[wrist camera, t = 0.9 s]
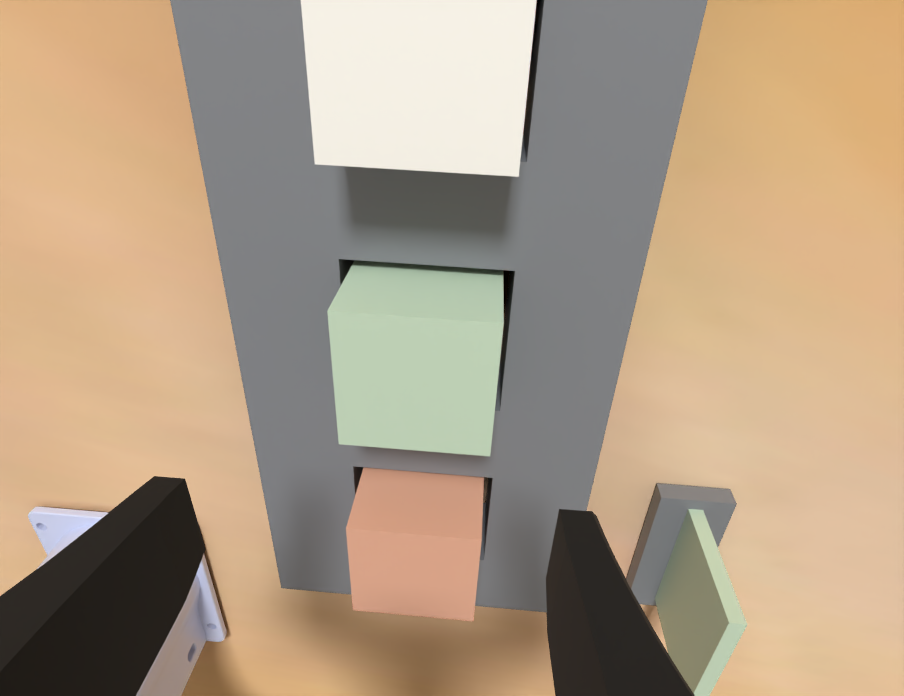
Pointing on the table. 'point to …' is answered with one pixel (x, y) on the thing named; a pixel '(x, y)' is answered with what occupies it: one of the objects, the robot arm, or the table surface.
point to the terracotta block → (415, 543)
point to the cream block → (419, 83)
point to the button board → (439, 263)
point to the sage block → (417, 356)
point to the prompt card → (689, 579)
